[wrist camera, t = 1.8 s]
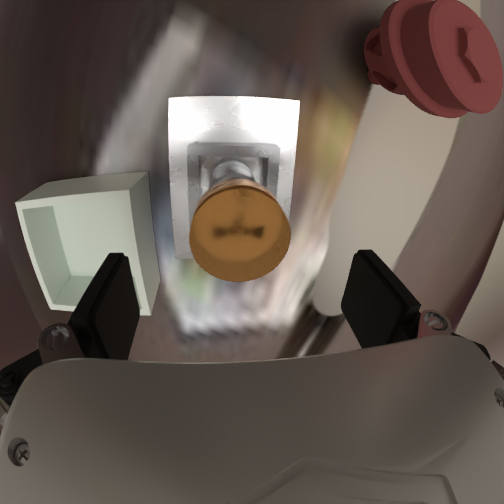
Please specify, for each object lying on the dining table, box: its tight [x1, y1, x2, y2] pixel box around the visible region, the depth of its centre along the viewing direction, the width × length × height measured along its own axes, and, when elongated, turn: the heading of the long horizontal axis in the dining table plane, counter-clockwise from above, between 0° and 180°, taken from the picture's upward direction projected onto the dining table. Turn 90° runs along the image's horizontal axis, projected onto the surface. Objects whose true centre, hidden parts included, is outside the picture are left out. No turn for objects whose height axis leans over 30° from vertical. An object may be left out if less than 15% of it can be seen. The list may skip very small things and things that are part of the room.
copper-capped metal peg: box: [189, 161, 291, 282], centre depth 17 cm, size 5×5×10 cm
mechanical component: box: [364, 0, 503, 118], centre depth 13 cm, size 12×10×10 cm
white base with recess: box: [168, 96, 300, 259], centre depth 21 cm, size 14×10×4 cm
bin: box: [15, 171, 160, 315], centre depth 22 cm, size 11×11×6 cm
